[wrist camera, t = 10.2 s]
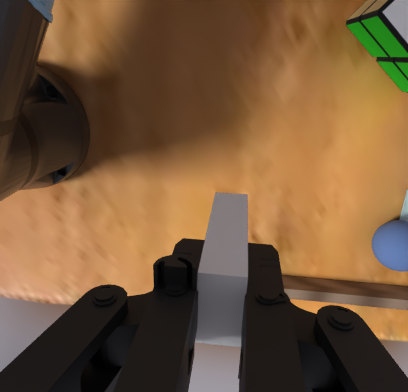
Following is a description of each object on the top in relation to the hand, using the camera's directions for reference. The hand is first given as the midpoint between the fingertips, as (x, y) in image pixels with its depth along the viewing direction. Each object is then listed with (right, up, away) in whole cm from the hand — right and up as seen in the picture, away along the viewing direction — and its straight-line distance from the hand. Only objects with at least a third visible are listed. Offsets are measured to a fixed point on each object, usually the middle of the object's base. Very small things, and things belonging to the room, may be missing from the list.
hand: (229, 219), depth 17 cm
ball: (+22, -5, +25) cm, 33 cm away
